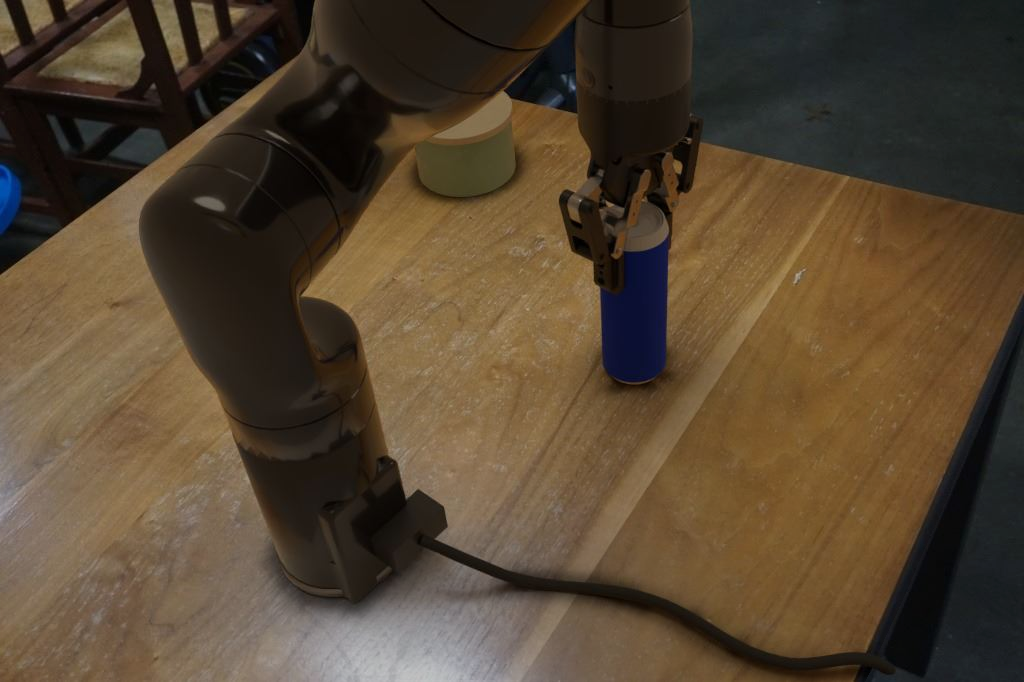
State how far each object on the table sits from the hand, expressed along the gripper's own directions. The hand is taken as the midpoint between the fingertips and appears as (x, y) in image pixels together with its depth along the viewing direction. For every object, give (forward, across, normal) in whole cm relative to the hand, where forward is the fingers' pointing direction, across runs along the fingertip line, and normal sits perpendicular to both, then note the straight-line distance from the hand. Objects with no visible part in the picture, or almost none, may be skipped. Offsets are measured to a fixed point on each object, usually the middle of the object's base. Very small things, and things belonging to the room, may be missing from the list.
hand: (634, 267), depth 83 cm
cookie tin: (+11, +13, +31) cm, 35 cm away
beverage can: (+11, 0, 0) cm, 11 cm away
